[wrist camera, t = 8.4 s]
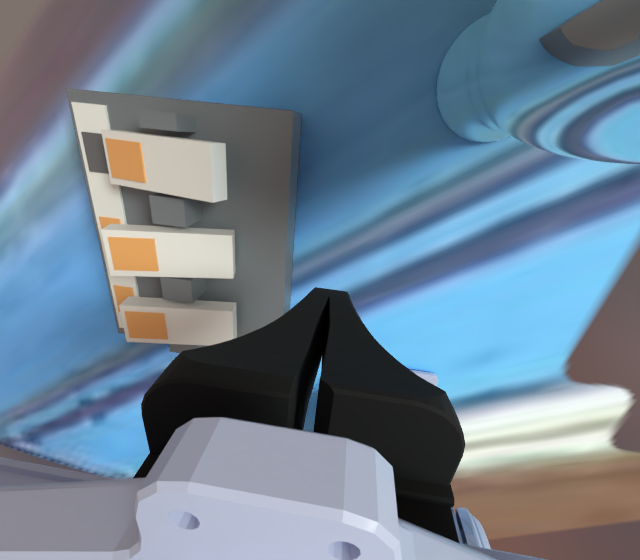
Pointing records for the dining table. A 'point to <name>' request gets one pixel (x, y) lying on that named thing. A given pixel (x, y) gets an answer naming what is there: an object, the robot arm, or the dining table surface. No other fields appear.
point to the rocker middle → (169, 251)
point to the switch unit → (174, 211)
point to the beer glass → (549, 78)
